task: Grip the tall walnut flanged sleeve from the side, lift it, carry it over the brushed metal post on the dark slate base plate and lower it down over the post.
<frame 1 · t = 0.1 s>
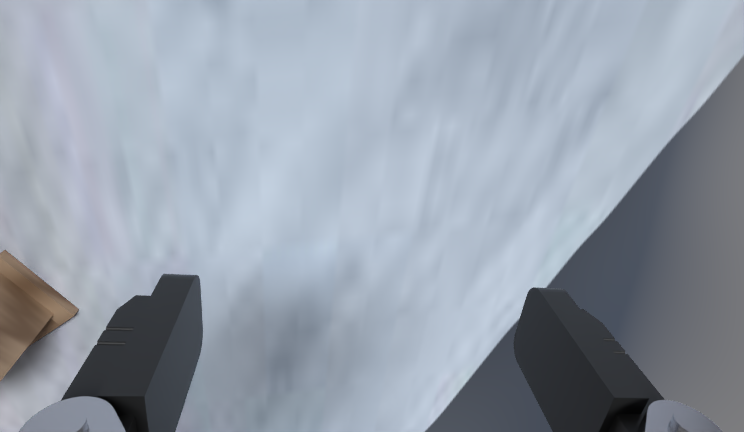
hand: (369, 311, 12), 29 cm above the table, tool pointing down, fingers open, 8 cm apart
flanged sleeve: (12, 302, 44), on the table
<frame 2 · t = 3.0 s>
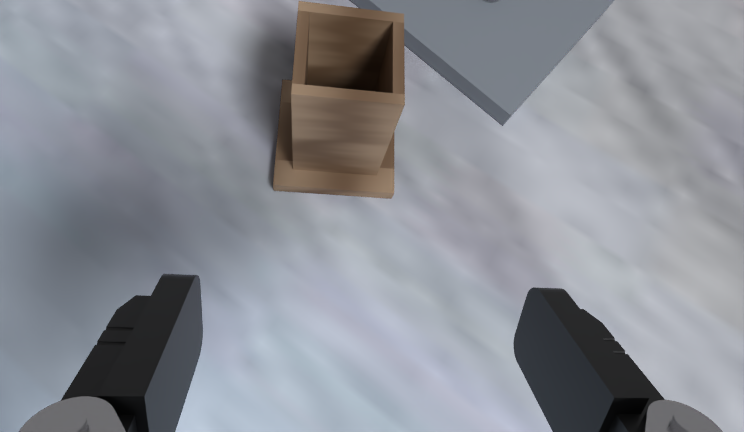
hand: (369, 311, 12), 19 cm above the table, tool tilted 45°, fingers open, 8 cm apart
flanged sleeve: (335, 141, 34), on the table
post plate: (481, 4, 40), on the table
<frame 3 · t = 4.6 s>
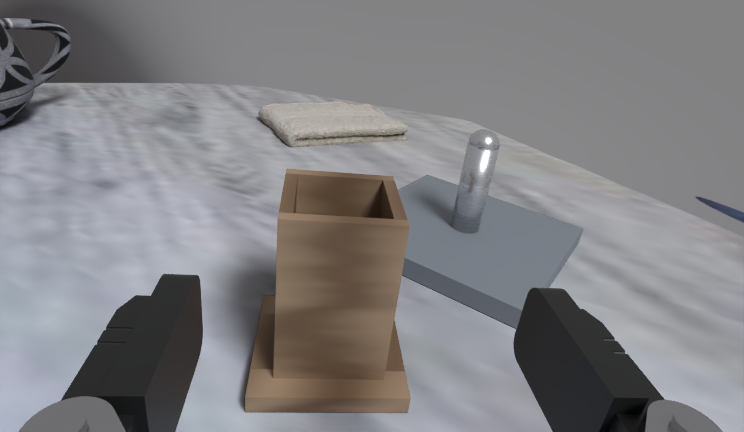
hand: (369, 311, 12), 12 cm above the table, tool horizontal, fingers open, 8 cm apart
washcloth: (334, 135, 66), on the table
flanged sleeve: (327, 354, 27), on the table
post plate: (461, 242, 41), on the table
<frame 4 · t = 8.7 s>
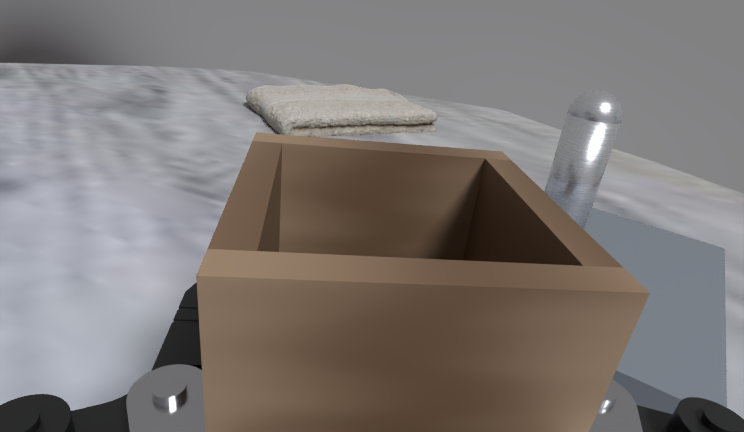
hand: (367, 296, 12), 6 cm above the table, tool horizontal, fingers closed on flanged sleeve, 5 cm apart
washcloth: (342, 125, 51), on the table
post plate: (544, 271, 26), on the table
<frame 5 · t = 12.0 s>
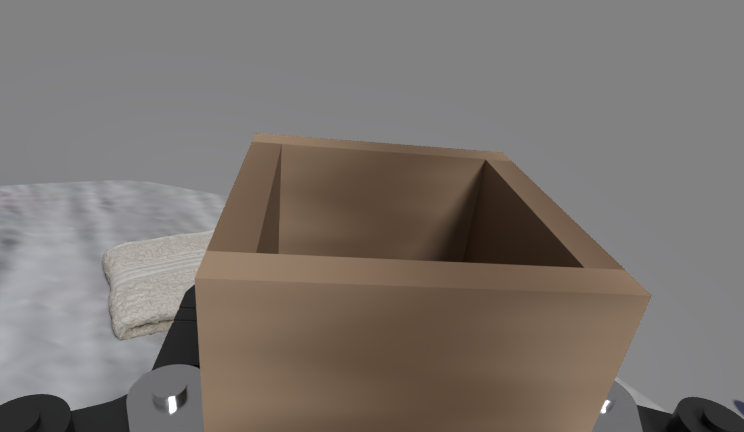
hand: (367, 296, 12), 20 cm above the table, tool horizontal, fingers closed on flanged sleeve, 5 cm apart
washcloth: (215, 287, 45), on the table
when the fingers open (9 cm above the table, at t = 15.4 s): flanged sleeve drops 1 cm, resting on post plate.
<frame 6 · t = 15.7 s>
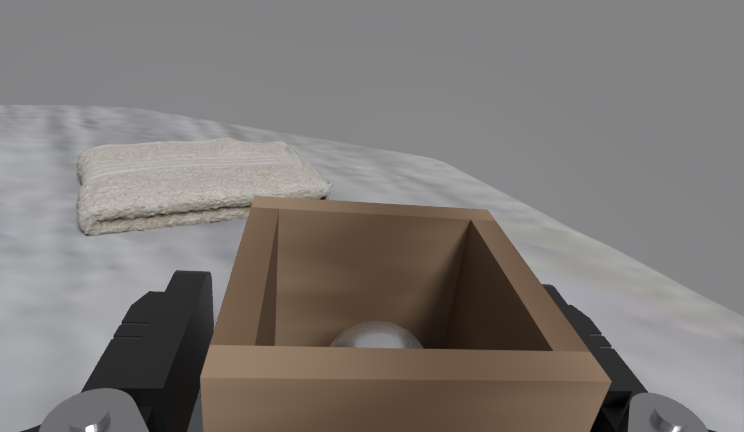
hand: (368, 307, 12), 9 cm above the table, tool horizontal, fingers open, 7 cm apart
washcloth: (208, 198, 38), on the table
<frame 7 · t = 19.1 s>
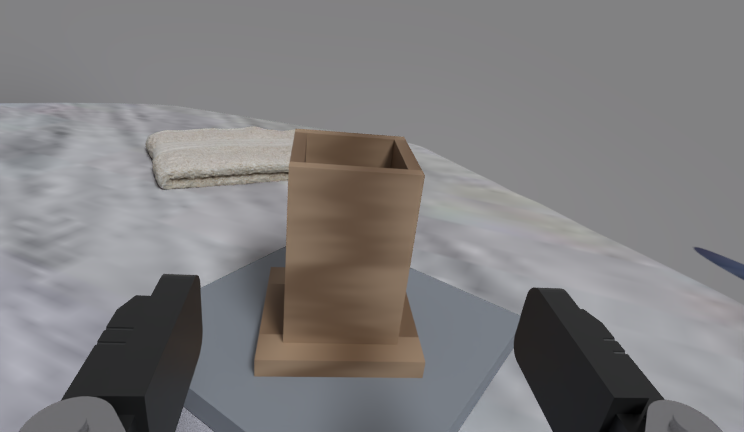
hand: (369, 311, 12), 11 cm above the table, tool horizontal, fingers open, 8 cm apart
washcloth: (242, 170, 52), on the table
flanged sleeve: (337, 323, 26), point 1 cm above the table, touching post plate
post plate: (336, 344, 27), on the table
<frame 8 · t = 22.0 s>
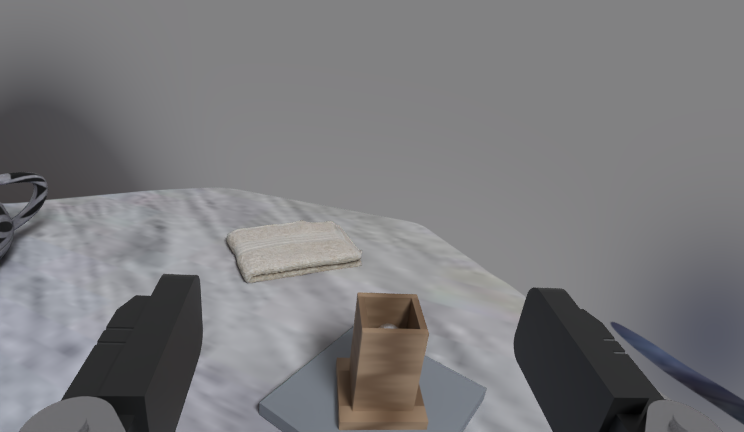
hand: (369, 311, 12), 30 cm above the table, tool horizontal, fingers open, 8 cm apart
washcloth: (295, 258, 71), on the table
flanged sleeve: (378, 395, 46), point 1 cm above the table, touching post plate
post plate: (377, 406, 47), on the table
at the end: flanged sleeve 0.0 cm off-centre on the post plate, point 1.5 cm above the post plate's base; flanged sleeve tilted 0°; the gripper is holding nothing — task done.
